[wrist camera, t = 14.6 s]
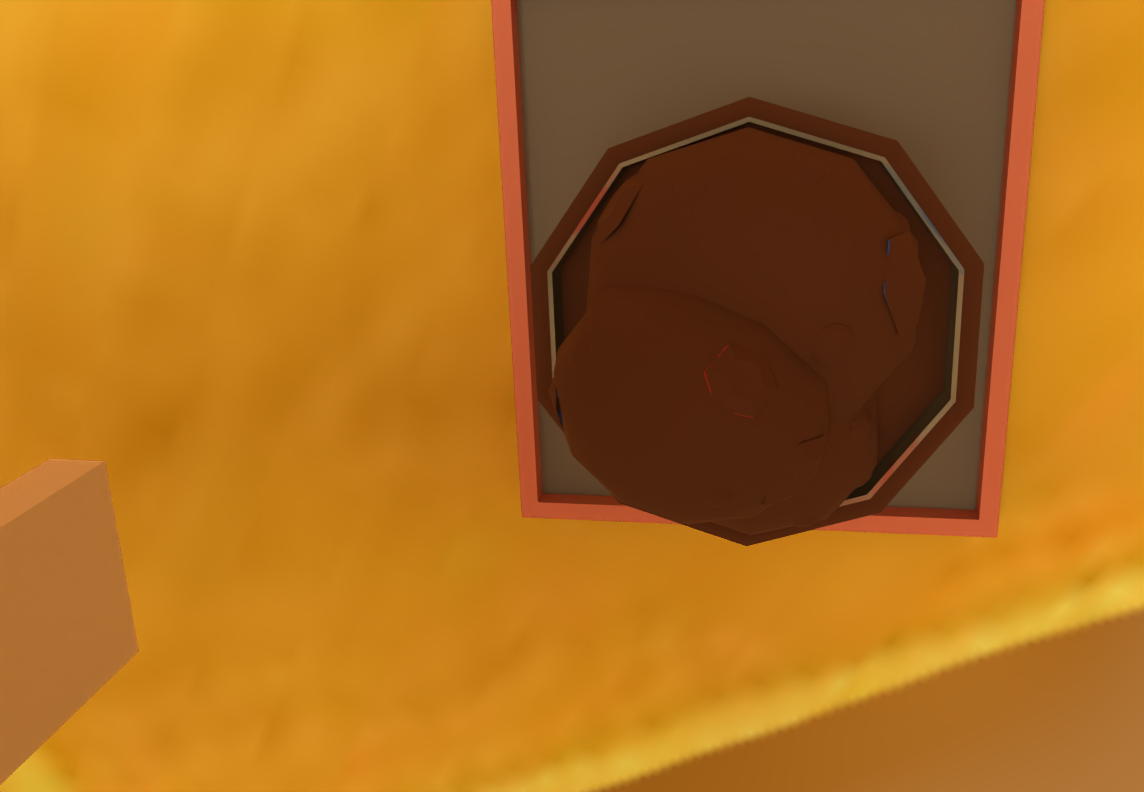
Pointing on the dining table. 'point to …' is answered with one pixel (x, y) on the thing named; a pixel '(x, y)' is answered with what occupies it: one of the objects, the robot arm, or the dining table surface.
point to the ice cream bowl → (756, 322)
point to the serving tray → (803, 83)
